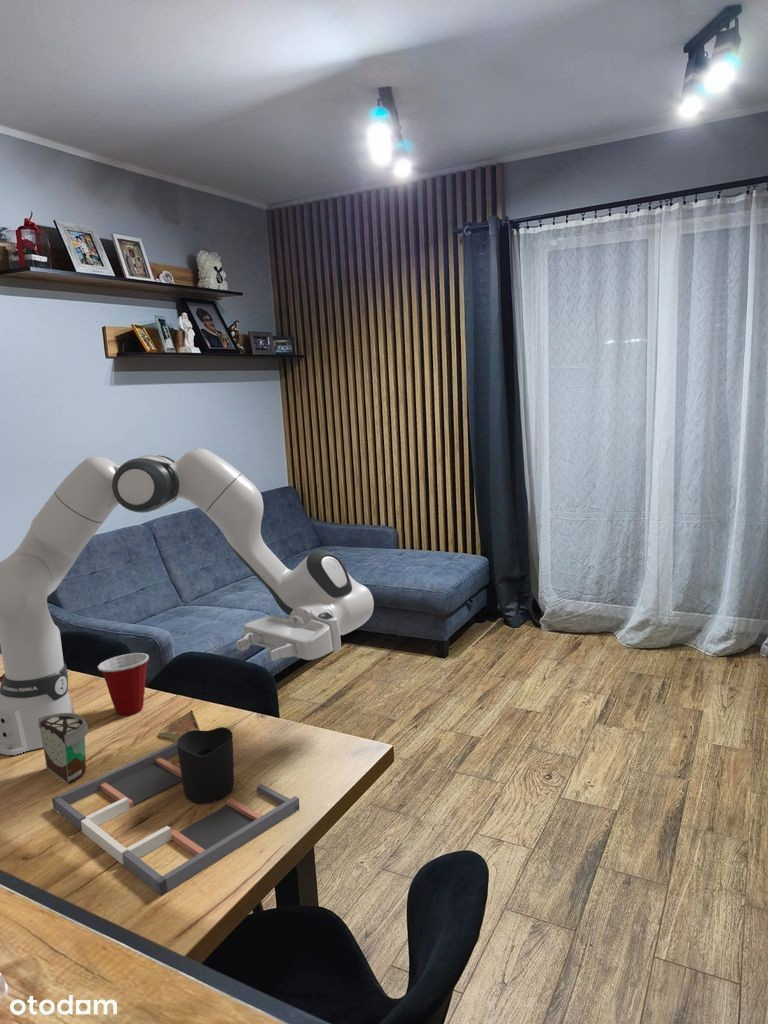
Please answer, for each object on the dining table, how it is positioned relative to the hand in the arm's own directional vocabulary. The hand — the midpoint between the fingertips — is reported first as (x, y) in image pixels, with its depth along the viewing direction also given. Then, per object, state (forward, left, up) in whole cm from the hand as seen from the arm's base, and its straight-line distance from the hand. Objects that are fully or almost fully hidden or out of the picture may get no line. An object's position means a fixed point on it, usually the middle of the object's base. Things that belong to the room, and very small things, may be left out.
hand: (253, 651), depth 128 cm
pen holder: (-6, -10, -22) cm, 25 cm away
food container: (-35, -7, -22) cm, 42 cm away
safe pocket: (-13, -24, -22) cm, 36 cm away
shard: (-23, +11, -23) cm, 34 cm away
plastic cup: (-39, +18, -22) cm, 48 cm away
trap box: (-9, -16, -22) cm, 29 cm away
